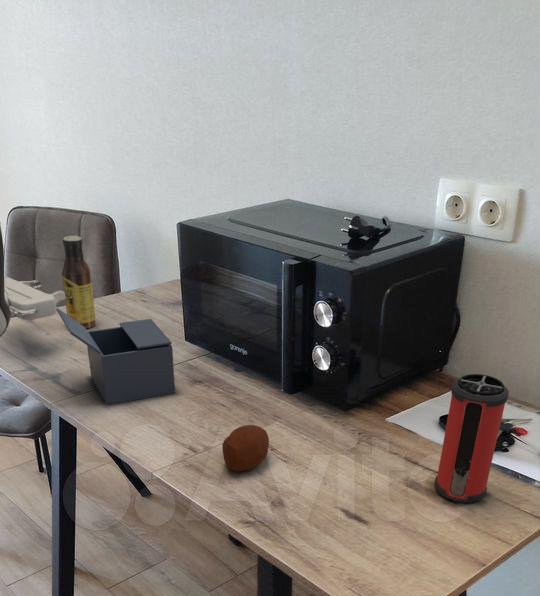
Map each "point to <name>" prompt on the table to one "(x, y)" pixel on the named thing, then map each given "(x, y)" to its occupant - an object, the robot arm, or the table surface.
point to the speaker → (470, 437)
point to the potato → (245, 447)
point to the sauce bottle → (77, 283)
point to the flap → (78, 330)
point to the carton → (132, 362)
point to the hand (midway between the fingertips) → (51, 289)
